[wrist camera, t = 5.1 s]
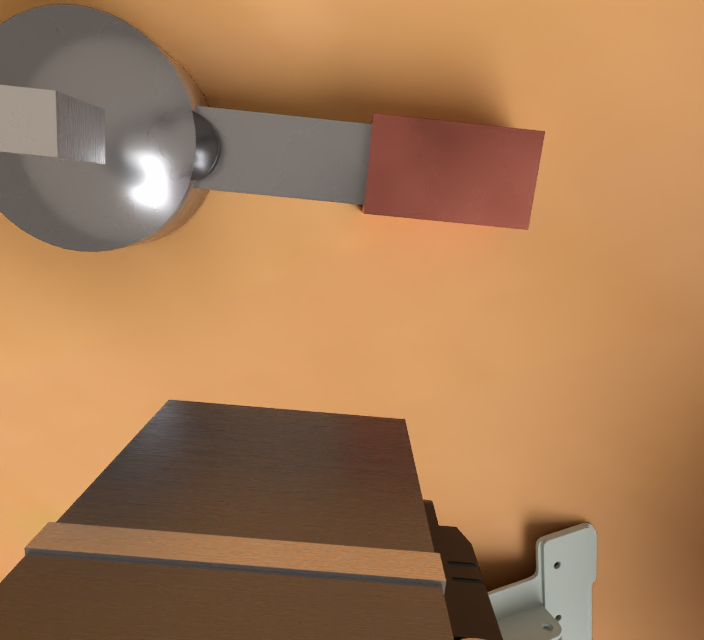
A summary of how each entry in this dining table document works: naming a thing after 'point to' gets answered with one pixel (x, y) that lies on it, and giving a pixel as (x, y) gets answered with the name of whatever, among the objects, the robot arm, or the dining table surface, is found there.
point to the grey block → (239, 536)
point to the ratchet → (212, 145)
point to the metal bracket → (552, 590)
